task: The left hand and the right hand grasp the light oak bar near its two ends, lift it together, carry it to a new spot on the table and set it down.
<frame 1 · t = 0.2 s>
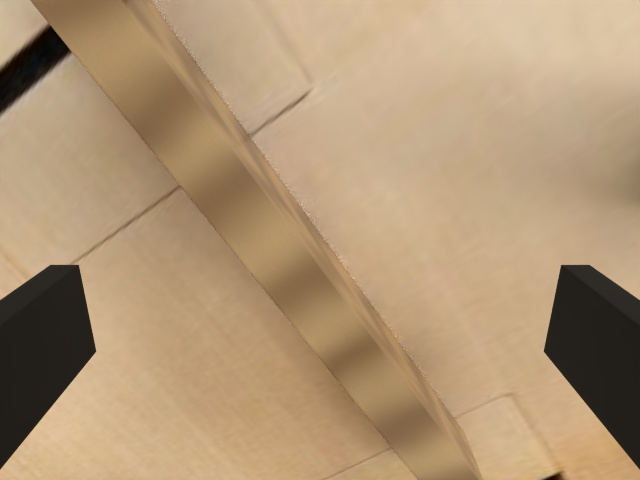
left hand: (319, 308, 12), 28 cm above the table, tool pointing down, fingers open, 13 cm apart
bar: (303, 252, 41), on the table
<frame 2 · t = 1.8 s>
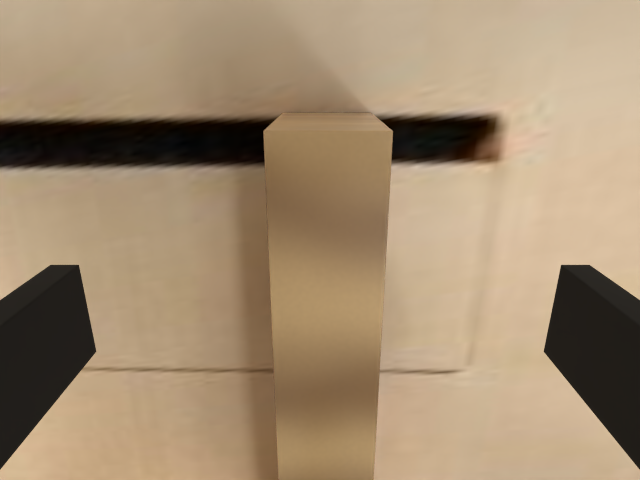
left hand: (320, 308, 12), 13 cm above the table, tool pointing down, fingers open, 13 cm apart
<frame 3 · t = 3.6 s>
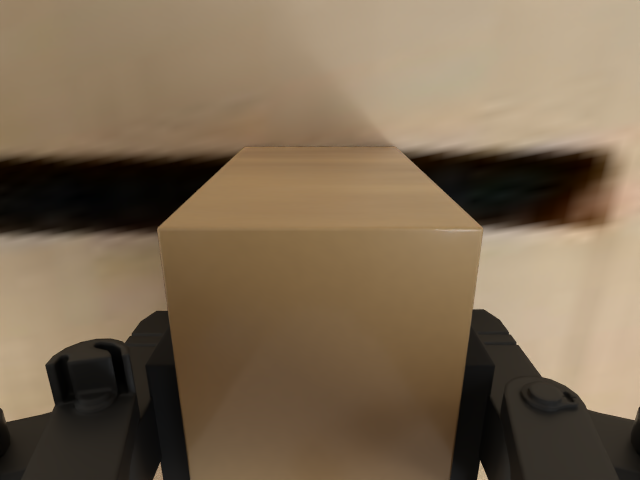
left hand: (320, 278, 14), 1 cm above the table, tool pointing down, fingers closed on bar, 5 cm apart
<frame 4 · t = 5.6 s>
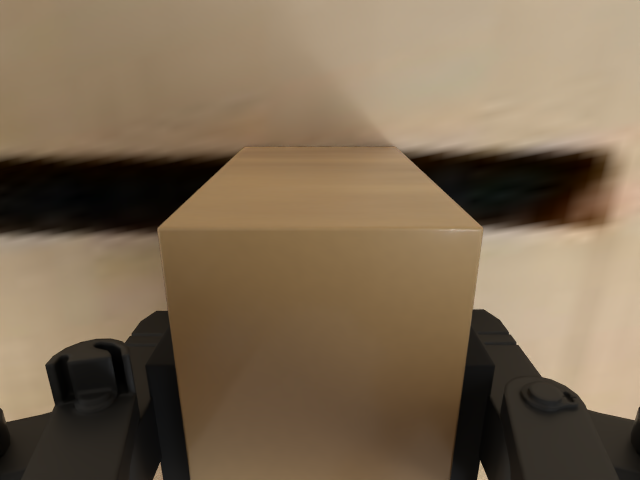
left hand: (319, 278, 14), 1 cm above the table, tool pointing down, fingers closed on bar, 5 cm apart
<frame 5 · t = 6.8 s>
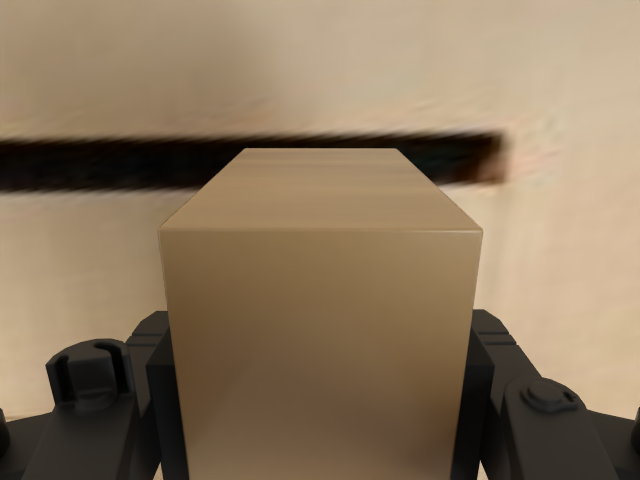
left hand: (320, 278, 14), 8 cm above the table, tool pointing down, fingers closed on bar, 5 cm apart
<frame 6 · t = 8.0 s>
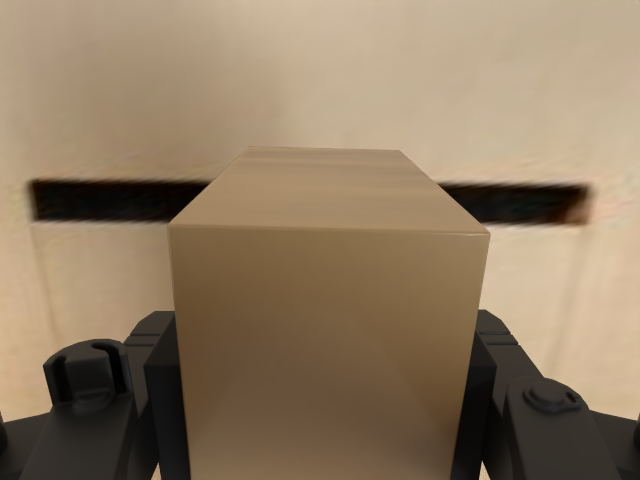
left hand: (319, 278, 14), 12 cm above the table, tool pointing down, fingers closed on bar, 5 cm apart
when the left hand's fingers open (2 cm above the table, at t = 10.3 s): bar drops 1 cm, on the table.
when the right hand's fingers open (4 cm above the table, at t = 10.5 s): bar stays where it is, on the table.
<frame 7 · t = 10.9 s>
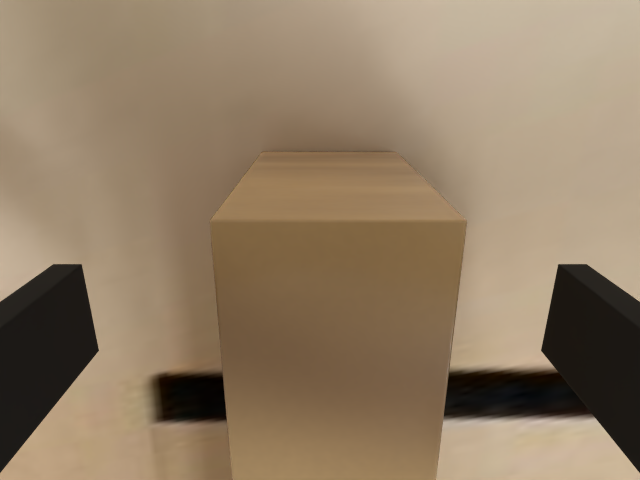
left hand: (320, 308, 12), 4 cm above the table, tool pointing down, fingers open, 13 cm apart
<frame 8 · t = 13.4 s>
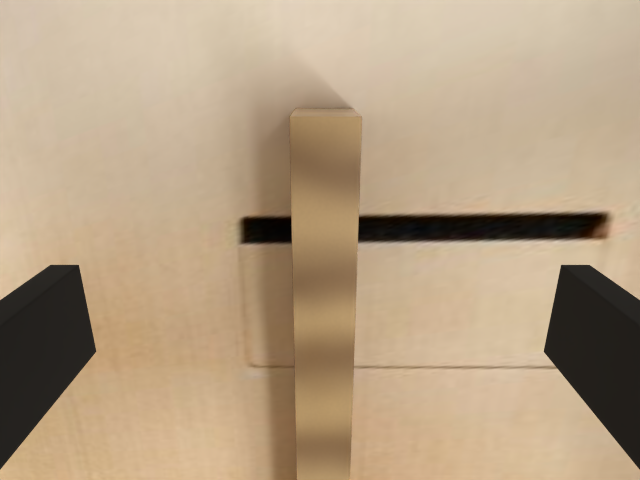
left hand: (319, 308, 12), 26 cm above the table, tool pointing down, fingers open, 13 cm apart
bar: (322, 390, 45), on the table
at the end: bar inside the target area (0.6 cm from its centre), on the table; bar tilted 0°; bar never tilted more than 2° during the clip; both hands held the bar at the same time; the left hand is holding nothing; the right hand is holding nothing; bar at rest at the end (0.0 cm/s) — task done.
